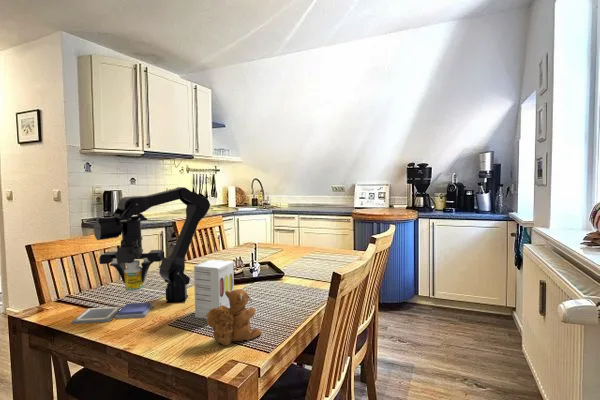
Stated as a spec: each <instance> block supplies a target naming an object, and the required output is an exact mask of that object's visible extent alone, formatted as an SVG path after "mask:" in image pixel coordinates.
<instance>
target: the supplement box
mask: <svg viewBox="0 0 600 400" xmlns="http://www.w3.org/2000/svg"><path fill="white" fill-rule="evenodd" d="M234 277H235V275H234V261H228V260H219V259H218V260H217V259H209V260H207V261H204V262H201V263H199V264H195V265H194V266H193V279H194V281H193V282H194V283H193V286H194V317H195V318H199V319H203V318H204V320H206V319H207V317H206V316H205V315H206V314H207V313H209V311H210V310H211V309H214V308H218V307H219V306H222V305H223V306H225V307H227V308H230V303H229V299H228V297H227V296H226V294H225V292H226V291H229V292H231V291H233V290H235V286H234V285H235V284H234V283H235V281H234Z"/></svg>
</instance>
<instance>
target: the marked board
mask: <svg viewBox="0 0 600 400" xmlns="http://www.w3.org/2000/svg"><path fill="white" fill-rule="evenodd" d="M121 308H123V306H107V307H90V308H89V307H88V308H86V309H85V310H84V311H83V312H82V313H80V314H79V315H78V316H77V317H75V318H74V319H73V320H72V321H71V323H70V324H72V325H73V324H74V325H75V324H89V323H91V324H92V323H108V322H111V321H112V319H114V318H115V316H116V315H117V313H118V312H119V310H120V309H121Z"/></svg>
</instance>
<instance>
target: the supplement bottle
mask: <svg viewBox="0 0 600 400" xmlns="http://www.w3.org/2000/svg"><path fill="white" fill-rule="evenodd" d="M140 265H141V264H140V259H134V262H132V263H126V269H125V270H124V276H125V283H124V289H125V292H127V293H136V292H139V291H142V290H143V289H144V282H142V266H140Z"/></svg>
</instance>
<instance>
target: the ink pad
mask: <svg viewBox="0 0 600 400" xmlns="http://www.w3.org/2000/svg"><path fill="white" fill-rule="evenodd" d="M153 307H154V303H151V302H133V303H126V304H125V305H124V306H122V309H121V310H120V311H119V312H118V313H117V314H116V315H115V317H114V318H115V320H117V319H119V320H121V319H137V318H139V319H140V318H146V316H147V315H148V314H149V313H150V312H151V310H152V309H153Z"/></svg>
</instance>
